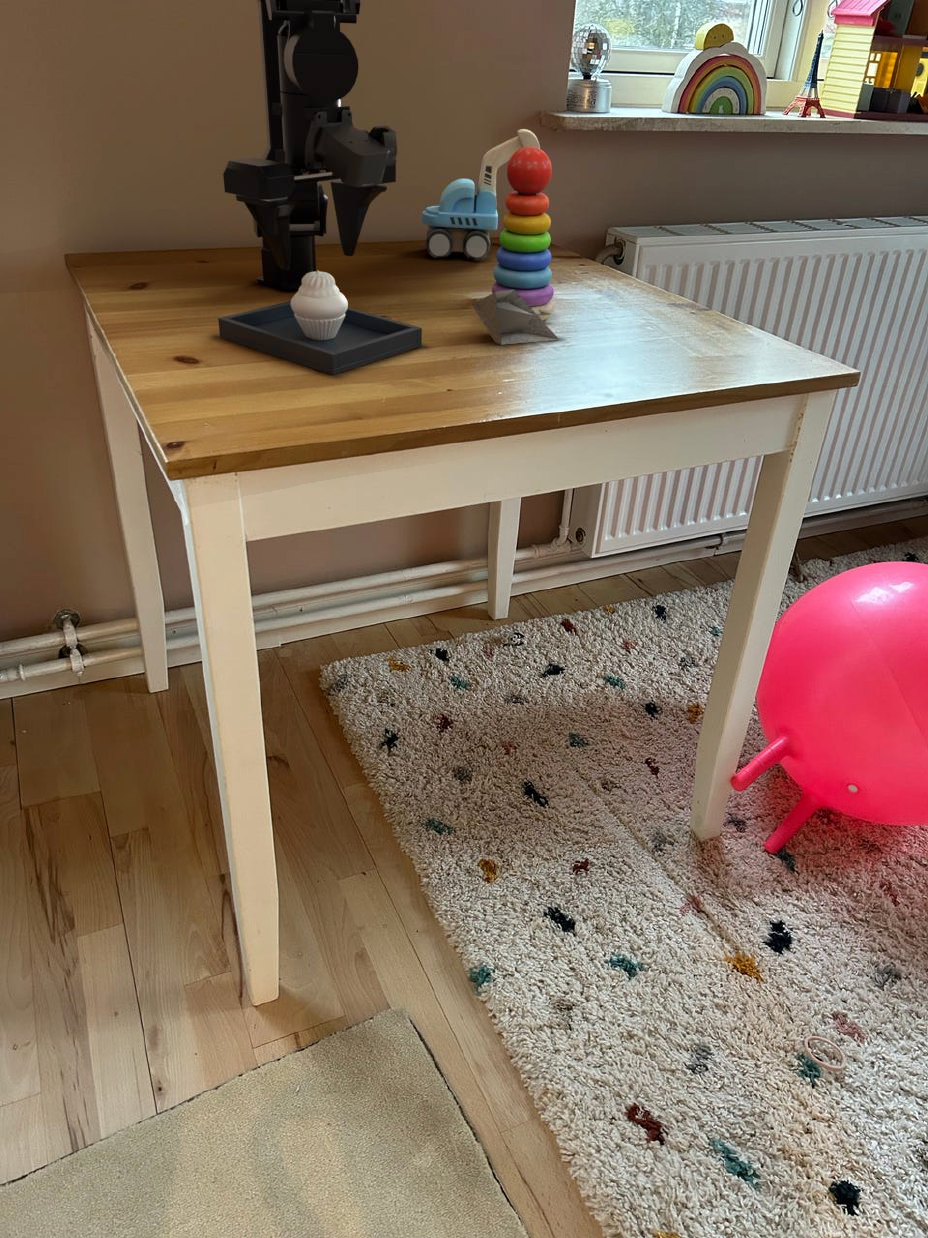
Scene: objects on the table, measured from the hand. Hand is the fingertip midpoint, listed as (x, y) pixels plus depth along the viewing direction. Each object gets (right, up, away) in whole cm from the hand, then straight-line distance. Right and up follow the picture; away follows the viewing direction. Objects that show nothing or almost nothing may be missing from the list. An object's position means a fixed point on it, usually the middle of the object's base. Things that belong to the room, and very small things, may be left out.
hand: (317, 261), depth 100 cm
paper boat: (+21, -7, +7) cm, 23 cm away
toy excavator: (+17, +17, +44) cm, 50 cm away
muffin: (0, -7, +5) cm, 8 cm away
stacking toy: (+22, 0, +17) cm, 28 cm away
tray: (0, -7, +5) cm, 9 cm away
